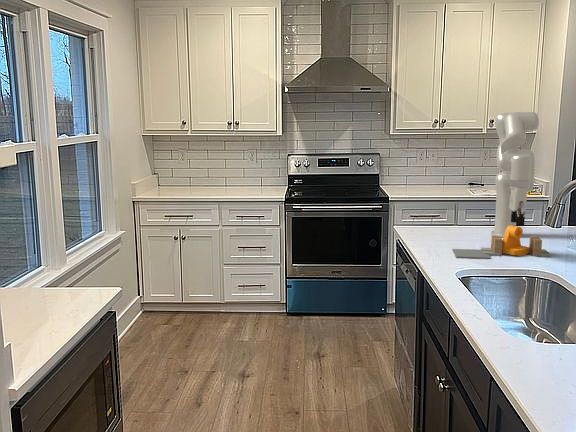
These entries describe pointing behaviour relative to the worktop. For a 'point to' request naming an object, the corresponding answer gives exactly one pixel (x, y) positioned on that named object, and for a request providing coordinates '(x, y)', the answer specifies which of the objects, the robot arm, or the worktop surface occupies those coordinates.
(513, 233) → the bracket
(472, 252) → the mat
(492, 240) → the vise jaws
